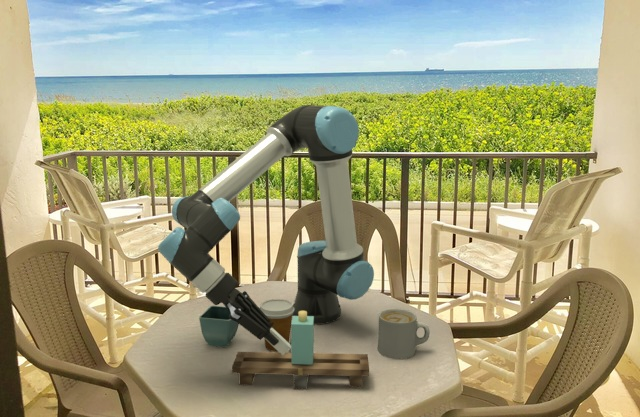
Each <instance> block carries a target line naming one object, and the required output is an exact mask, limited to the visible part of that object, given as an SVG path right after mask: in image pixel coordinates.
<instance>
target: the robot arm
mask: <svg viewBox="0 0 640 417" xmlns="http://www.w3.org/2000/svg"><path fill="white" fill-rule="evenodd" d="M359 135H360V129H359V124H358V122H357V119H356V117H355V116H354V115H353V113H352V112H350V111H349V110H348V109H347V108H344V107H339V106H336V105H314V104H305V105H300V106H298V107H296V108H293V109H292V110H291V111H289V112H287V113H286V114H284V115H283V116H282V117H280V118H278V119H277V120H276V121H275V122H273V124H271V125H270V126H268V128H267V129H266V134H265V135H264V136H263V137H261V138H260V139H259V140H258V141H257V142H255V143H254V144H253V145H252V146H250V147H249V148H248V149H247V150H245V151H244V152H242V154H241V155H239V156H238V157H237V158H236V159H235V160H234V161H232V162H231V163H230V164H228V165H227V166H226V167H225V168H224V169H222V170H221V171H219V172H218V174H216V175H215V176H214V177H212V178H211V179H210V180H209V181H208V182H207V183H205V184H204V185H203V186H201V187H200V188H199V189H198V190H197V191H196V192H194V193H193V194H192V195H191V196H183V197H179V198H177V199H176V200H175V201H174V203H173V205H172V208H171V215H172V218H173V220H174V221H175V222H176V223H177V224H179V225H180V226H177V227H176V228H174V229H173V230H172V231H171V232H170V233H169V234H168V235H167V236H166V237H165V238H164V239H162V241H161V242H160V243H159V244H158V246H157V249H158V252H159V253H160V254H161V255H162V257H163V258H165V260H166V261H167V262H168V263H169V264H170V265H171V266H172V267H174V268H175V270H177V271H178V272H179V273H180V274H181V275H182V276H184V278H186V279H187V280H188V281H189V282H190V283H191V284H192V287H193V288H196V289H197V290H198V291H200V292H201V293H202V294H203V293H205V297H206V298H207V299H208V301H210V302H211V303H212V304H213V306H219V305H220V304H223V307H226V308H227V309H228V310H229V311H230V312H231V314H230V315H229V318H230V319H231V320H233V321H235V322H237V323H238V324H239V325H240V326H241V327H242V328H244V329H245V330H246V331H248V332H249V333H250V334H252V335H253V336H254V337H255V338H257V339H258V340H259V341H261V340H263V339H264V338H265V339H266V340H267V341H268V342H269V343H270V344H271V345H272V346H273V347H274V348H275V349H276V350H277V351H276V352H280V353H281V354H282V355H284V354H285V353H288V351H290V350H291V344H290V342H289V343H288V342H287V341H286V340H285V339H284V338H283V337H282V336H281V335H280V334H279V333H278V332H276V331H275V330H274V329H273V328H271V327H272V326H273V325H274V323H273V322H271V323H270V319H269V318H268V317H267V316H266V315H265V314H264V313H263V312H262V311H261V309H260V306H258V305H257V304H256V303H255V301H254V300H253V299H252V298H251V296H250V295H249V293H248V292H247V291H245V290H243V292H240V290H239V289H237V288H236V287H237V285H238V283H239V282H238V280H237V279H236V278H234V276H232V275H231V273H229V272H225V271H226V269H225V267H224V266H222V265H221V264H220V263H219V262H218V261H217V260H216V259H215V258H214V257H213V256H211V255H210V251H212V250H213V249H214V248H215V247H216V246H217V245H218V243H220V242H221V241H222V240H223V239H224V238H225V237H226V236H227V235H228V234H229V233H230V232H231V231H233V229H234V227H236V225H237V224H238V223H239V221H241V220H240V219H241V214H240V212H239V211H238V209H237V208H236V207H235V206H234V205H233V204H232V203H231V201H232V200H233V199H234V198H236V197H237V196H238V195H239V194H241V192H243V191H244V190H245V189H247V187H250V185H251V184H253V183H254V182H255V181H256V180H258V179H259V178H260V177H261V176H262V175H264V173H266V172H267V171H268V170H269V169H270V168H272V166H274V165H275V164H276V163H277V162H278V161H280V160H281V159H282V158H284V157H290V156H292V155H293V154H294V153H295V152H296V151H298V150H301V149H307V151H308V152H307V153H308V160H309V161H310V162H311V163H312V164H313V165H315V168H316V176H317V184H318V191H319V200H320V208H321V214H322V222H323V230H324V236H325V240H314V241H308V242H304V243H302V244H300V245H299V246H298V248H297V255H296V258H297V292H296V295H295V298H294V303H292V304H293V307H294V312H293V314H292V317H293V316H298V312H299V311H307V316H314V325H319V324H320V325H321V324H329V323H333V322H334V321H335V322H336V321H338V319H340V317H341V316H342V307H341V304H340V301H339V298H338V296H339V297H340V298H344V299H346V300H357V299H360V298H362V297H363V296H364V295H366V293H367V292H369V290H370V287H372V285H373V282H374V280H375V279H374V278H375V277H374V276H375V271H374V268H373V265H372V264H371V263H370V262H369V261H367V260H365V254H364V248H363V246H362V245H360V244H359V243H358V242H357V241H358V239H357V233H356V222H355V215H354V206H353V199H352V198H353V197H352V189H351V188H352V187H351V180H350V178H351V177H350V172H349V171H350V170H349V163H348V161H349V160H350V159H351V157H352V156H353V149H354V148H355V146H356V145H357V141H358V140H359ZM182 227H183V228H182ZM184 228H185V229H184Z"/></svg>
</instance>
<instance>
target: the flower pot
mask: <svg viewBox="0 0 640 417" xmlns="http://www.w3.org/2000/svg"><path fill="white" fill-rule="evenodd" d="M230 314H231V312H230V311H229V310H228V309H227V308H226V307H225V306H223V305H221V306H220V305H210V306H208V307H207V309H206V310H205V311H203V313H202V314H200V316H199V317H198V320H199V325H200V330H201V334H202V337H203V339H204V341H205V342H206V343H207V344H208V346H210V347H211V346H212V347H219V348H220V347H223V348H227V347H228V346H229V345H230V344H231V343H232V341H233V339H234V338H235V336H236V334H237V332H238V328H239V325H240V324H238V323H237V322H235V321H233V320H231V319H230V318H229V315H230Z"/></svg>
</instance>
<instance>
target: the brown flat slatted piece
mask: <svg viewBox="0 0 640 417" xmlns="http://www.w3.org/2000/svg"><path fill="white" fill-rule="evenodd" d="M231 373H232V374H238V377H239V378H238V379H239V381H238V382H239V386H253V382H254V380H255V375H257V374H261V375H268V374H269V375H293V390H307V388H308V381H309V375H310V376H311V375H312V376H347V377H348V378H349V380H348V382H349V383H348V384H349V385H348V386H349V388H363V377H370V364H369V354H367V353H333V352H331V353H326V352H325V353H324V352H322V353H321V352H320V353H319V352H314V356H313V365H308V364H291V352H286V353H285V354H284V355H282V354H281V353H280V352H278V351H237V352H236V355H235V357H234V361H233V364H232V366H231Z"/></svg>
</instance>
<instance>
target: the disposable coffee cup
mask: <svg viewBox="0 0 640 417" xmlns="http://www.w3.org/2000/svg"><path fill="white" fill-rule="evenodd" d="M293 304H294V303H292V301H289V300H287V299H283V298H282V299H281V298H273V299H272V298H271V299H268V300H265V301H263V302H261V304H260V306H259V308H260V309H261V311H262V312H263V313H264V314H265V315H266V316H267V317H268V318H269V319H270V323H271V322H273V323H274V325H273V326H272V327H271V328H273V329H274V330H275V331H276V332H278V333H279V334H280V335H281V336H282V337H283V338H284V339H285V340H286V341H287V342H288V343H289V344H290V338H291V323H292V318H293V316H292V314H293V312H294V307H293ZM263 339H264V348H265V349H266V350H267V351H269V352H278V351H277V350H276V349H275V348H274V347H273V346H272V345H271V344H270V343H269V342H268V341H267V340H266V339H265V338H264V337H263Z"/></svg>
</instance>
